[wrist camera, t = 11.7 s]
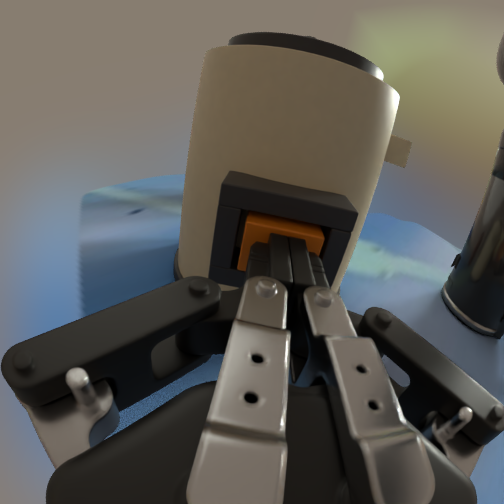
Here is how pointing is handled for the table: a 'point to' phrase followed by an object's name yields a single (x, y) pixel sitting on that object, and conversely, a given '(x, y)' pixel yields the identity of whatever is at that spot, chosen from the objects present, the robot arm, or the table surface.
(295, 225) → the kettle switch
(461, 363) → the table surface
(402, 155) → the kettle
